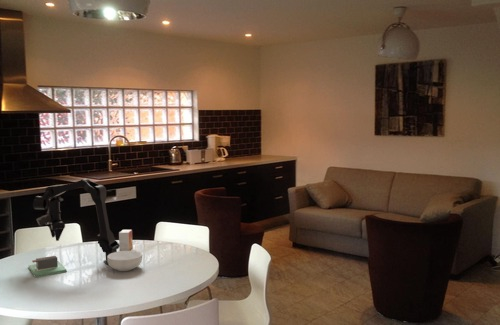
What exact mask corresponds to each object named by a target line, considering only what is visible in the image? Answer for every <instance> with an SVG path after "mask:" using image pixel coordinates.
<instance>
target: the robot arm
mask: <svg viewBox="0 0 500 325" xmlns="http://www.w3.org/2000/svg"><path fill="white" fill-rule="evenodd" d="M80 188H83V189H84V190H85V192H87V193H88V194H89V195H90V197H91V200H92V201H93V202H94V204H95V208H96V214H97V219H98V226H99V234H97V235H96V239H97V244H98V245H99V247H100V248H101V250H102V252H103V253H105V259H104V260H103V263H105V264H106V265H109V264H108V261H107V256H108V255H109V254H111V253H114V252H118V250H119V246H120V244H119V241H117V240H116V238H115V236H114V235H115V234H114V233H113V232H112V230H111V229H110V223H109V217H108V216H109V215H108V212H107V206H106V199H107V188H106V187H105V186H104V185H102V184H99V183H97V182H94V181H92V180H90V179H88V178H84V179H83V178H82V179H80V180H77V181H74V182H73V181H72V182H70V183H66V184H55V185H50V186H48V187H46V188H45V190H44V193H43V195H42V196H41V195H40V196H39V195H37V196H35V197H34V200H33V201H32V202H33V203H32V208H33V209H34V210H47V211H46V214H45V215H43V216H40V217H37V218H36V219H35V220H36V222H37V224H38V226H39V227H42V226H44V224H45V226H47V227H48V228H49V231H50V234H51V238H55V241H56V242H58V241H60V238H61V236H62V233H63V231H64V229H65V228H66V224H65V222H63V221H62V219H61V214H62V211H61V208H60V207H61V203H60V202H63V201H64V198H62V197H61V195H62V194H64V193H65V192H69V191H73V190H76V189H80Z"/></svg>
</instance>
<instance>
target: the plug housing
mask: <svg viewBox="0 0 500 325" xmlns="http://www.w3.org/2000/svg"><path fill="white" fill-rule="evenodd" d="M31 261H32V263H35V264H36V268H37V269H38V270H41V269H47V268H53V267H58V261H59V260H58V256H57V255H52V256H46V257H39V258H35V259H34V260H31Z"/></svg>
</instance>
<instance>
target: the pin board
mask: <svg viewBox="0 0 500 325" xmlns="http://www.w3.org/2000/svg"><path fill="white" fill-rule="evenodd" d="M57 261H58V267H53V268H47V269H41V270H38V269H37V268H36V263H33V264H28V269H29V271H30V272H31V274H33V276H34V277H35V278H40V277H45V276H51V275H56V274H62V273H67V271H68V270H67V268H65V266H64V265H63V264H62V263H61V262H60V261H59V260H57Z"/></svg>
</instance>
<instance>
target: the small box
mask: <svg viewBox="0 0 500 325" xmlns="http://www.w3.org/2000/svg"><path fill="white" fill-rule="evenodd" d="M118 243H119V244H120V246H119V248H118V250H119V251H131V250H132V248H133V247H134V246H133V229H122V230H121V231H119V232H118Z"/></svg>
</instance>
